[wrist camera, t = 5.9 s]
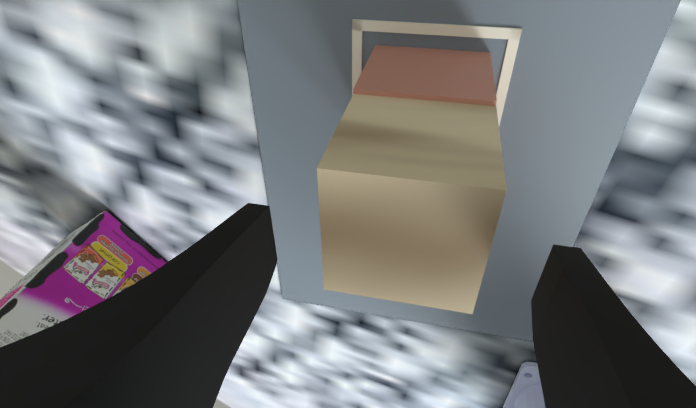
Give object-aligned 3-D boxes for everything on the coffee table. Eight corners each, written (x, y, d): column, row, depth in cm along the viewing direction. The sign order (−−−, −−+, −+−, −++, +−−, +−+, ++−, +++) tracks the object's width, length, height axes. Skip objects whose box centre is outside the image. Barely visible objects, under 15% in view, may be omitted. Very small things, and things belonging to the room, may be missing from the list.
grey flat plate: (530, 338, 26) (531, 342, 26) (283, 296, 29) (282, 299, 29) (687, -23, 14) (691, -21, 14) (233, -38, 17) (230, -36, 17)
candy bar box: (70, 231, 30) (-219, 497, 17) (107, 205, 27) (-200, 494, 15) (187, 327, 34) (25, 594, 22) (227, 312, 32) (71, 604, 19)
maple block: (471, 217, 16) (472, 314, 13) (353, 202, 17) (323, 289, 13) (496, 105, 13) (506, 190, 10) (353, 93, 14) (316, 168, 11)
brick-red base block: (470, 152, 19) (471, 214, 16) (372, 142, 20) (352, 199, 17) (490, 52, 17) (496, 101, 13) (375, 44, 17) (353, 89, 14)
